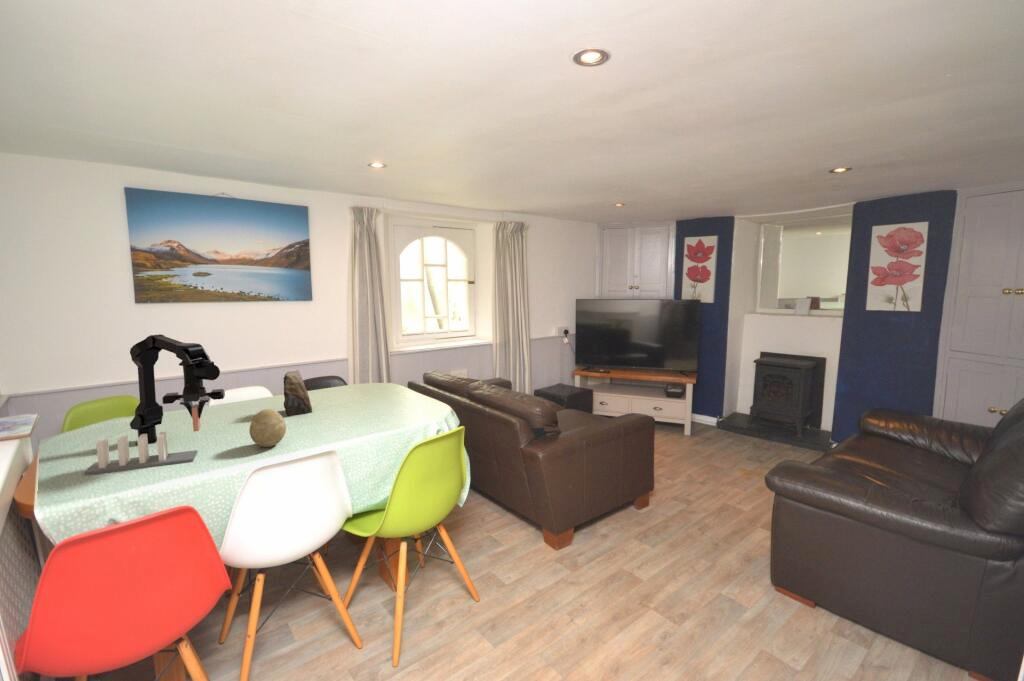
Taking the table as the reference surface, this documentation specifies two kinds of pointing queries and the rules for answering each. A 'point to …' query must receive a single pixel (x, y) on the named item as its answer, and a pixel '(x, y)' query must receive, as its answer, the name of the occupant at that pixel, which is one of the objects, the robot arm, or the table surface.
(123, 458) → the domino
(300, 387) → the tapered brown rock
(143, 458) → the domino
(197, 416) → the brick domino
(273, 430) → the fossilized egg
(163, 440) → the domino
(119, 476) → the table surface
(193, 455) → the board
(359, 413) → the table surface
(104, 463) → the domino
